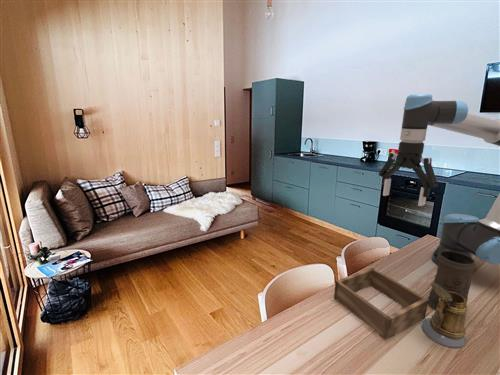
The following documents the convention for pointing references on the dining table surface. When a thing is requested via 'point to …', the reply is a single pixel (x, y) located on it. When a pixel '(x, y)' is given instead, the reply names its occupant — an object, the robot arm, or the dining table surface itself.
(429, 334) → the coaster
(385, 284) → the wooden frame
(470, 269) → the beer stein
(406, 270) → the dining table surface
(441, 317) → the wooden mug
